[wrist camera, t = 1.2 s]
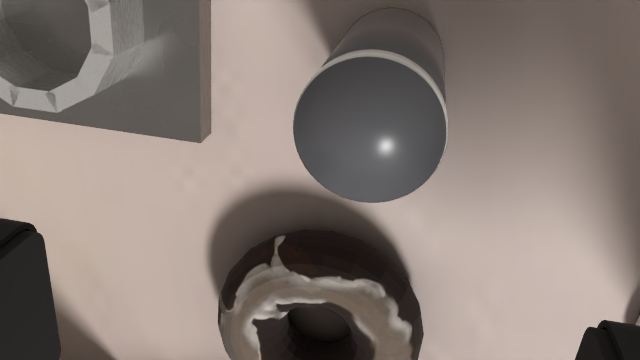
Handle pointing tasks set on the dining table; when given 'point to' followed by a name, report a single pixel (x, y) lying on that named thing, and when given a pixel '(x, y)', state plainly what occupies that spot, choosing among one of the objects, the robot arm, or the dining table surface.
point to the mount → (109, 64)
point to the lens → (376, 109)
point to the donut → (318, 301)
